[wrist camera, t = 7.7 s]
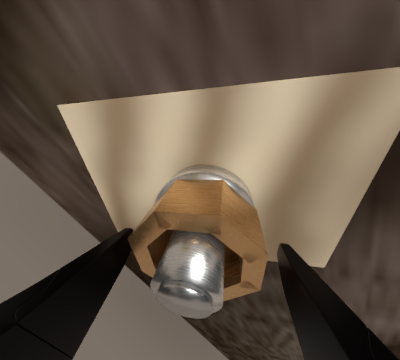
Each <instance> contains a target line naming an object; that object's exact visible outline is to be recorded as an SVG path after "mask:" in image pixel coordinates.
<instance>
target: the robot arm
mask: <svg viewBox="0 0 400 360" xmlns="http://www.w3.org/2000/svg"><path fill="white" fill-rule="evenodd" d="M132 232H133V229H132V228H125V229H123V230H121V231H120V232H118V233H116V234H115V235H113V236H112V237H110V238H108V239H107V240H105V241H104V242H102V243H100V244H99V245H97V246H96V247H94V248H92V249H91V250H89V251H88V252H86V253H84V254H83V255H81V256H80V257H78V258H76V259H75V260H73V261H71V262H70V263H68V264H67V265H65V266H63V267H62V268H60V269H59V270H57V271H55V272H54V273H52V274H51V275H49V276H47V277H46V278H44V279H42V280H41V281H39V282H38V283H36V284H34V285H32V286H31V287H29V288H27V289H25V290H24V291H22V292H20V293H18V294H17V295H15V296H13V297H12V298H10V299H8V300H6V301H4V302H2V303H1V304H0V360H72V359H73V357H74V356H75V354H76V352H77V350H78V348H79V346H80V345H81V343H82V341H83V339H84V337H85V335H86V334H87V332H88V330H89V328H90V326H91V325H92V323H93V321H94V319H95V317H96V316H97V314H98V312H99V310H100V308H101V306H102V305H103V303H104V301H105V299H106V297H107V295H108V294H109V292H110V290H111V288H112V286H113V285H114V283H115V281H116V279H117V277H118V276H119V274H120V272H121V270H122V268H123V266H124V264H125V262H126V260H127V258H128V256H129V254H130V251H131V249H132V248H131V246H130V244H129V241H128V238H129V236H130V235H131V234H132ZM277 259H278V264H279V270H280V275H281V280H282V285H283V289H284V293H285V296H286V300H287V303H288V306H289V310H290V313H291V316H292V320H293V323H294V326H295V330H296V333H297V336H298V340H299V343H300V346H301V350H302V353H303V356H304V360H399V359H398V358H397V357H396V356H395V355H394V354H393V353H392V352H391V351H390V350H389V349H388V348H387V347H386V346H385V345H384V344H383V343H382V342H381V341H380V340H379V339H378V337H377V336H376V335H375V334H374V333H373V332H372V331H371V330H370V329H369V328H366V325H365V324H364V323H363V322H362V321H361V320H360V319H359V318H358V317H357V315H356V314H355V313H354V312H353V311H352V310H351V309H350V308H349V307H348V306H347V305H346V304H345V303H344V302H343V301H342V300H341V299H340V298H339V296H338V295H337V294H336V293H335V292H334V291H333V290H332V289H331V288H330V287H329V286H328V285H327V284H326V283H325V282H324V281H323V280H322V279H321V278H320V276H319V275H318V274H317V273H316V272H315V271H314V270H313V269H312V268H311V267H310V266H309V265H308V264H307V263H306V262H305V261H304V260H303V259H302V258H301V256H300V255H299V254H298V253H297V252H296V251H295V250H294V249H293V248H292V247H291V246H290V245H289V244H286V243H280V244H279V247H278V251H277Z"/></svg>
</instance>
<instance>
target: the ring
mask: <svg viewBox="0 0 400 360" xmlns="http://www.w3.org/2000/svg"><path fill="white" fill-rule="evenodd" d="M174 230H180V231H191V232H202V233H211V234H212V235H214V236H215V237H216V238H217V239H219V240H220V241H221V242H223V243H224V244H225V260H224V289H223V301H226V300H230V299H233V298H236V297H240V296H243V295H246V294H250V293H253V292H256V291H260V290H261V285H262V281H263V277H264V272H265V268H266V263H267V259H268V252H267V248H266V244H265V240H264V236H263V232H262V228H261V225H260V221H259V217H258V213H257V209H256V208H254V207H253V206H252V205H251V204H250V203H249V202H248V201H247V200H245V199H244V198H243V197H242V196H241V195H240V194H239V193H238V192H236V191H235V190H234V189H233V188H232V187H231V186H230V185H229V184H227V183H226V182H225V181H224V180H196V179H176V181H175V182H174V183H173V184H172V185H171V186H170V187H169V188H168V189H167V190H166V192H165V193H164V194H163V195H162V196H161V197H160V198H159V199H158V200H157V201H156V203H155V204H154V205H153V206H152V208H151V209H150V210H149V211H148V213H147V214H146V215H145V217H144V218H143V219H142V221H141V222H140V223H139V225H138V226H137V227H136V229H135V230H134V231H133V232H132V234H131V235H130V236H129V238H128V241H129V244H130V246H131V248H132V250H133V252H134V255H135V257H136V259H137V261H138V263H139V266H140V268H141V270H142V271H143V272H144V273H146V274H147V275H149V276H151V277H152V278H153V276H154V274H155V271H156V269H157V267H158V265H159V263H160V260H161V258H162V256H163V254H164V251H165V249H166V247H167V245H168V242H169V240H170V238H171V236H172V233H173V231H174Z"/></svg>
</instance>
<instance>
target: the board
mask: <svg viewBox="0 0 400 360" xmlns="http://www.w3.org/2000/svg"><path fill="white" fill-rule="evenodd" d="M57 106H58V108H59V110H60V112H61V114H62V116H63V119H64V121H65V123H66V125H67V127H68V129H69V131H70V133H71V135H72V137H73V139H74V142H75V144H76V146H77V148H78V150H79V152H80V154H81V156H82V158H83V160H84V162H85V164H86V167H87V169H88V171H89V173H90V175H91V177H92V179H93V181H94V183H95V185H96V187H97V189H98V192H99V194H100V196H101V198H102V200H103V202H104V204H105V206H106V208H107V210H108V212H109V214H110V217H111V219H112V221H113V223H114V225H115V227H116V229H117V231H118V232H120V231H121V230H123V229H125V228H132V229H133V231H134V230H135V229H136V227H137V226H138V225H139V223H140V222H141V221H142V219H143V218H144V217H145V215H146V214H147V213H148V211H149V210H150V209H151V208H152V206H153V205H154V204H155V201H156V198H157V196H158V194H159V193H160V191H161V190H162V189H163V187H164V186H165V185H166V184H167V182H168V181H169V180H170V179H171V177H172V176H173V175H175V174H176V173H177V172H178V171H180V170H182V169H184V168H186V167H189V166H193V165H201V164H206V165H214V166H219V167H222V168H225V169H227V170H229V171H231V172H232V173H234V174H236V175H237V176H238V177H239V178H241V179H242V180H243V182H244V183H245V184H246V185H247V187H248V188H249V190H250V192H251V195H252V198H253V202H254V206H255V208H256V209H257V213H258V217H259V221H260V225H261V228H262V232H263V236H264V240H265V244H266V248H267V252H268V259H267V261H274V262H278V259H277V251H278V247H279V244H280V243H286V244H289V245H290V246H291V247H292V248H293V249H294V250H295V251H296V252H297V253H298V254H299V255H300V256H301V258H302V259H303V260H304V261H305V262H306V263H307V264H308V265H309V266H314V267H322V268H324V267H325V266H326V264H327V262H328V260H329V258H330V256H331V255H332V253H333V251H334V249H335V247H336V246H337V244H338V242H339V240H340V238H341V236H342V235H343V233H344V231H345V229H346V227H347V225H348V224H349V222H350V220H351V218H352V216H353V215H354V213H355V211H356V209H357V207H358V205H359V204H360V202H361V200H362V198H363V196H364V195H365V193H366V191H367V189H368V187H369V185H370V184H371V182H372V180H373V178H374V176H375V174H376V173H377V171H378V169H379V167H380V165H381V164H382V162H383V160H384V158H385V156H386V154H387V153H388V151H389V149H390V147H391V145H392V143H393V142H394V140H395V138H396V136H397V134H398V133H399V131H400V67H396V68H387V69H378V70H369V71H360V72H351V73H342V74H333V75H324V76H315V77H306V78H298V79H289V80H280V81H271V82H262V83H253V84H244V85H235V86H226V87H217V88H208V89H199V90H190V91H181V92H172V93H163V94H154V95H145V96H136V97H127V98H118V99H110V100H101V101H92V102H83V103H74V104H65V105H57Z"/></svg>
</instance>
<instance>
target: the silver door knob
mask: <svg viewBox="0 0 400 360" xmlns="http://www.w3.org/2000/svg"><path fill="white" fill-rule="evenodd" d="M176 179H196V180H224V181H225V182H226V183H227V184H229V185H230V186H231V187H232V188H233V189H234V190H235V191H236V192H238V193H239V194H240V195H241V196H242V197H243V198H244V199H245V200H247V201H248V202H249V203H250V204H251V205H252V206H253V207H254V208H255V206H254V202H253V198H252V195H251V192H250V190H249V188H248V187H247V185H246V184H245V183H244V182H243V180H242V179H241V178H239V177H238V176H237V175H236V174H234V173H232V172H231V171H229V170H227V169H225V168H222V167H219V166H214V165H206V164H201V165H193V166H189V167H186V168H184V169H182V170H180V171H178V172H177V173H176V174H175V175H173V176H172V177H171V179H170V180H169V181H168V182H167V184H166V185H165V186H164V187H163V189H162V190H161V191H160V193H159V194H158V196H157V198H156V201H157V200H158V199H159V198H160V197H161V196H162V195H163V194H164V193H165V192H166V190H167V189H168V188H169V187H170V186H171V185H172V184H173V183H174V182H175V181H176ZM156 201H155V203H156ZM224 260H225V244H224V243H223V242H221V241H220V240H219V239H217V238H216V237H215V236H214V235H212V234H211V233H202V232H191V231H180V230H174V231H173V233H172V236H171V238H170V240H169V242H168V245H167V247H166V249H165V251H164V254H163V256H162V258H161V260H160V263H159V265H158V267H157V269H156V271H155V274H154V276H153V278H152V280H151V284H150V286H151V289H152V291H153V293H154V294H155V295H156V298H157V301H158V302H159V303H160V304H161V305H162V306H163V307H164V308H166V309H168V310H169V311H171V312H173V313H175V314H178V315H181V316H184V317H189V318H206V317H208V316H210V315H211V314H212V313H214V312H217V311H219V310H220V309H221V308H222V306H223V289H224Z"/></svg>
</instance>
